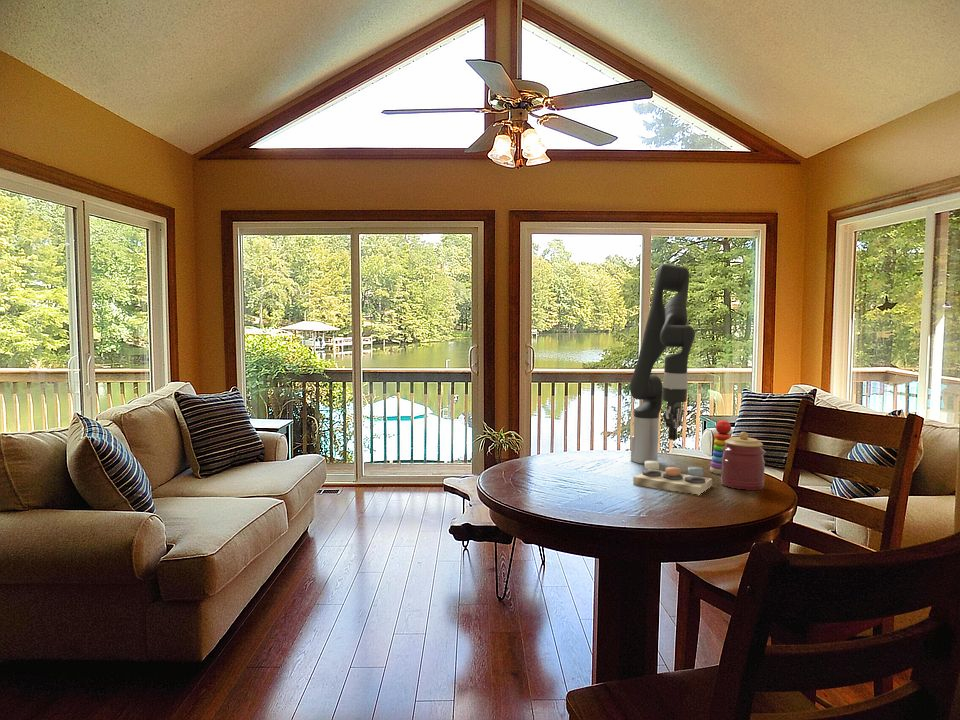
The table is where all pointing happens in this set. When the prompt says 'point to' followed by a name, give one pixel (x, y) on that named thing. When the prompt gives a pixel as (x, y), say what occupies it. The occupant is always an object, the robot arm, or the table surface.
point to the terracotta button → (673, 471)
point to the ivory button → (652, 465)
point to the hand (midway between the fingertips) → (672, 439)
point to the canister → (743, 463)
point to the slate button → (695, 471)
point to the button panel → (672, 482)
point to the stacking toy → (719, 445)
